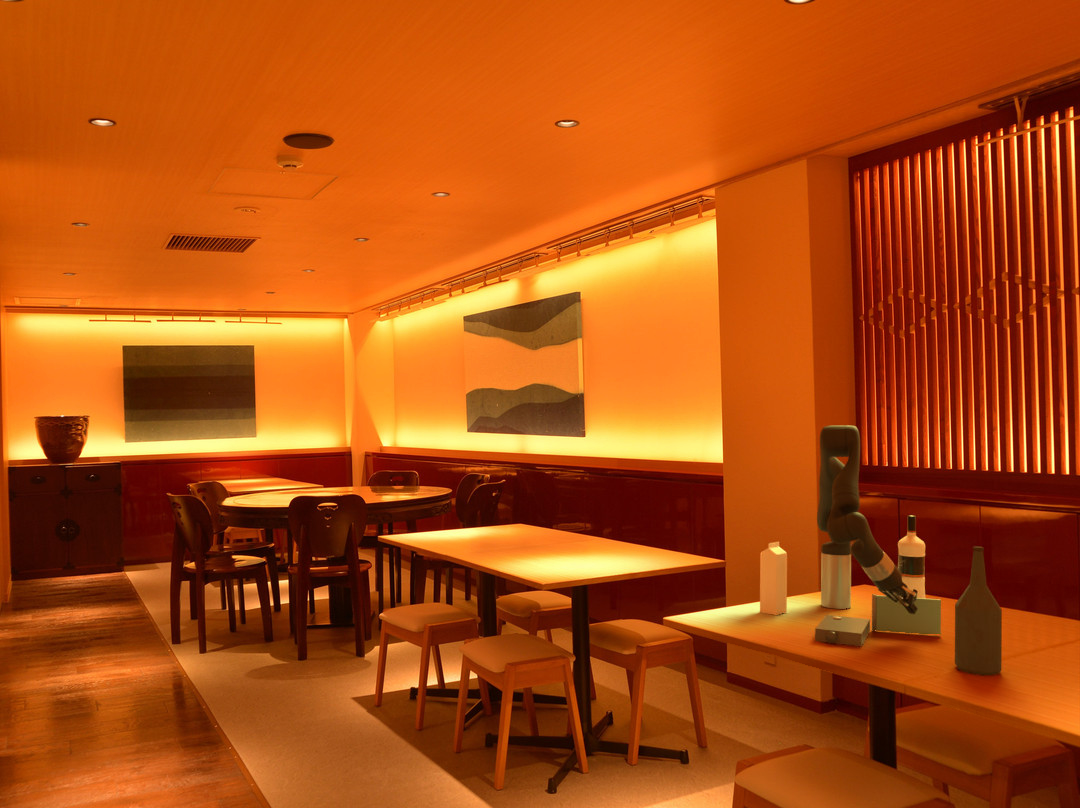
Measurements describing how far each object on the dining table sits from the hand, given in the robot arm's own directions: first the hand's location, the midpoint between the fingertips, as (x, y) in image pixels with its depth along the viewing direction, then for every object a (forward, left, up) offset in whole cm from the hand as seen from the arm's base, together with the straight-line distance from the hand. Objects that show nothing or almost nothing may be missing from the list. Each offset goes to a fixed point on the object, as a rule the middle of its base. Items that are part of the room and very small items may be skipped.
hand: (913, 611), depth 249 cm
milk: (-15, -42, -8) cm, 45 cm away
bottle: (+27, +16, -8) cm, 32 cm away
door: (-6, -2, -8) cm, 10 cm away
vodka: (-46, -4, -8) cm, 47 cm away
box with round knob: (+7, -18, -8) cm, 21 cm away
